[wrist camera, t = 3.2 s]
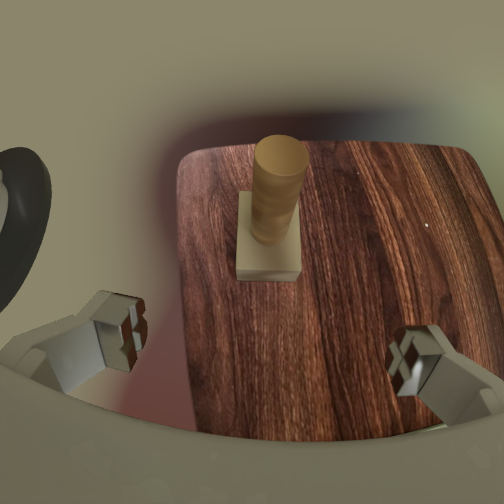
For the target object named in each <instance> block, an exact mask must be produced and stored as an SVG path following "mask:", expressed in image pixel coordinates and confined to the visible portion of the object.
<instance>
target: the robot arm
mask: <svg viewBox="0 0 504 504" xmlns="http://www.w3.org/2000/svg"><path fill="white" fill-rule="evenodd" d="M7 209H8V192H7V189H6V187H5V185H4V184H3V182H2V170H0V233H1V230H2V227H3V225H4V221H5V218H6V214H7ZM144 312H145V303H144V300H143V299H142V298H138V297H133V296H128V295H123V294H119V293H113V292H109V291H104V290H101V291H98V292H97V293H96V295H94V297H93V298H92V299H91V300H90V301H89V302H88V303H87V304H86V305H85V306H84V307H83V308H82V310H81V311H80V312H79V313H78V314H77V315H76V316H74V315H70V316H68V317H65V318H63V319H60V320H57V321H54V322H52V323H49V324H46V325H44V326H41V327H39V328H36V329H33V330H30V331H28V332H25V333H22V334H20V335H17V336H14V337H13V338H12V339H11V340H10V341H9V342H8V343H7V344H6V345H5V346H4V348H3V349H2V350H1V351H0V504H504V381H503V380H501V379H500V378H498V377H497V376H495V375H494V374H492V373H491V372H489V371H488V370H486V369H484V368H483V367H481V366H480V365H478V364H477V363H475V362H473V361H472V360H470V359H469V358H467V357H466V356H464V355H462V354H461V353H457V352H456V351H455V349H454V348H453V346H452V345H451V344H450V342H449V341H448V339H447V338H446V336H445V335H444V333H443V332H442V331H441V329H440V328H439V326H437V325H399V326H398V327H397V329H396V330H395V333H394V335H393V336H394V339H395V341H394V342H393V343H391V344H390V345H389V346H388V349H387V351H386V353H385V368H386V370H387V373H389V374H390V375H391V376H392V377H393V378H392V381H391V383H392V386H393V388H394V391H395V394H396V396H409V395H417V396H418V397H419V398H420V399H421V400H422V401H423V402H424V403H425V404H426V405H427V406H428V407H429V408H430V409H431V410H432V411H433V412H434V413H435V414H436V415H437V416H438V417H439V418H440V419H441V420H442V421H443V422H444V423H445V424H446V425H447V426H448V427H444V428H440V429H435V430H430V431H425V432H419V433H413V434H407V435H401V436H393V437H385V438H376V439H366V440H353V441H332V442H292V441H270V440H257V439H246V438H237V437H228V436H221V435H214V434H207V433H201V432H195V431H190V430H184V429H180V428H175V427H170V426H165V425H161V424H157V423H153V422H149V421H145V420H141V419H137V418H134V417H130V416H126V415H123V414H120V413H117V412H113V411H110V410H107V409H104V408H101V407H98V406H95V405H93V404H90V403H87V402H84V401H82V400H79V399H76V398H73V397H71V396H69V395H66V394H67V393H69V392H70V391H71V390H73V389H75V388H76V387H78V386H79V385H81V384H82V383H84V382H86V381H87V380H89V379H90V378H92V377H93V376H95V375H96V374H98V373H99V372H101V371H102V370H104V369H105V368H106V367H109V368H113V369H117V370H121V371H125V372H131V370H132V368H133V366H134V364H135V362H136V360H137V353H136V352H138V351H140V350H141V349H143V347H144V345H145V342H146V338H147V330H148V327H147V321H146V320H145V319H144V317H143V316H142V315H143V313H144Z"/></svg>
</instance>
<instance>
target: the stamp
mask: <svg viewBox="0 0 504 504" xmlns="http://www.w3.org/2000/svg"><path fill="white" fill-rule="evenodd" d="M308 163H309V153H308V151H307V149H306V147H305V146H304V145H303V144H302V143H301V142H300V141H298V140H296V139H295V138H292V137H289V136H285V135H273V136H269V137H266V138H264V139H262V140H261V141H260V142H259V143H258V144H257V145H256V147H255V150H254V163H253V182H252V191H239V209H238V229H237V250H236V279H237V280H246V281H285V282H295V281H296V279H297V277H298V276H299V274H300V272H301V270H302V269H301V245H300V225H299V208H298V197H299V193H300V190H301V187H302V183H303V180H304V177H305V173H306V170H307V167H308Z"/></svg>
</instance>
